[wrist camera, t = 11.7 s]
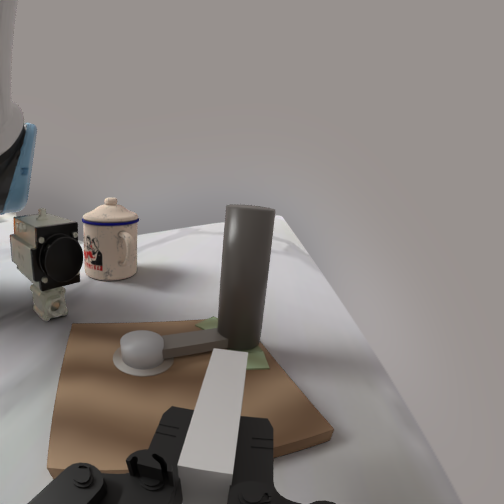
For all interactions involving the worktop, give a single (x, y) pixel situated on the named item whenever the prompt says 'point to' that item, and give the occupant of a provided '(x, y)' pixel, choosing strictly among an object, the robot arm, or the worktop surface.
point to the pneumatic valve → (47, 259)
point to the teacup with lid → (110, 242)
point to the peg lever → (221, 296)
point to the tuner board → (159, 397)
